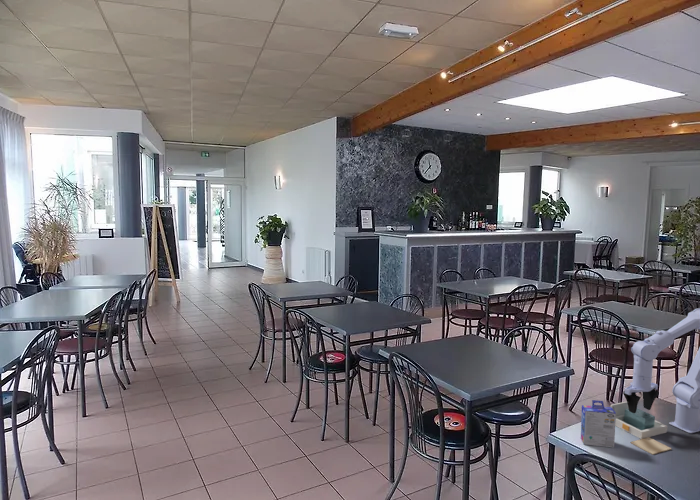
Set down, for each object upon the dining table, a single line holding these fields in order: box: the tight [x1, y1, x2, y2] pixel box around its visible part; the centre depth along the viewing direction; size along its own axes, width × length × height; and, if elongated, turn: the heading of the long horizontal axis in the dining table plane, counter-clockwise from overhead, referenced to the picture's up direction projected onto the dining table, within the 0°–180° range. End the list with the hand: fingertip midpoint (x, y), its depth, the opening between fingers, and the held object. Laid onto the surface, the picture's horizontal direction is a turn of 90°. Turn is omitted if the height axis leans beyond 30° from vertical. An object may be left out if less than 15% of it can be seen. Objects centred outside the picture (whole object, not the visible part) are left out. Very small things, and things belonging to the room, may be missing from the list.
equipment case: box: [615, 414, 668, 440], centre depth 172 cm, size 13×12×2 cm
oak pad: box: [630, 437, 673, 455], centre depth 159 cm, size 9×8×1 cm
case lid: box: [609, 400, 629, 416], centre depth 177 cm, size 13×2×7 cm, turn 111°
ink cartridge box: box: [580, 399, 616, 448], centre depth 161 cm, size 10×6×14 cm, turn 78°
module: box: [624, 408, 656, 430], centre depth 172 cm, size 5×8×6 cm, turn 21°
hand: (639, 410), depth 171 cm, fingers open, 7 cm apart
